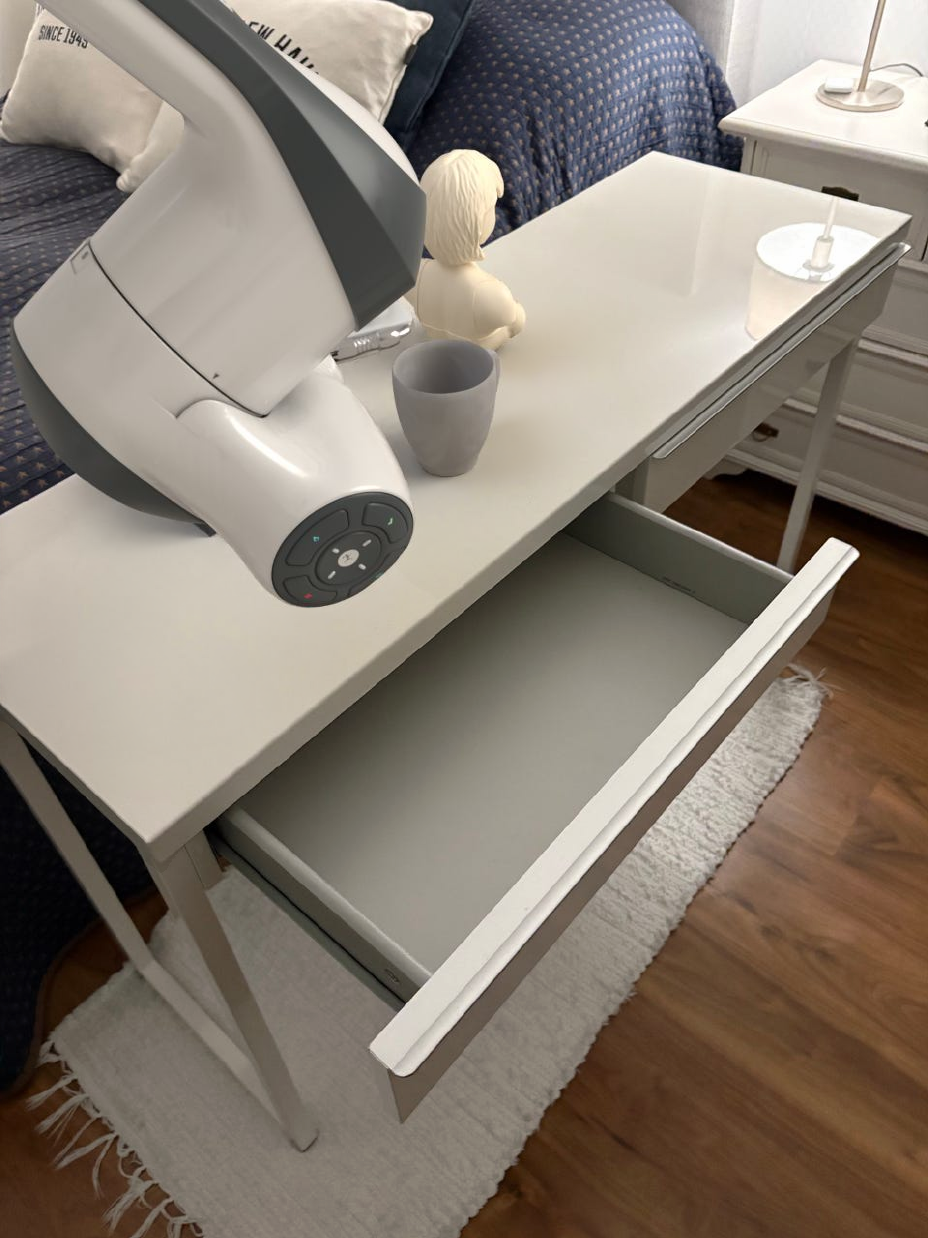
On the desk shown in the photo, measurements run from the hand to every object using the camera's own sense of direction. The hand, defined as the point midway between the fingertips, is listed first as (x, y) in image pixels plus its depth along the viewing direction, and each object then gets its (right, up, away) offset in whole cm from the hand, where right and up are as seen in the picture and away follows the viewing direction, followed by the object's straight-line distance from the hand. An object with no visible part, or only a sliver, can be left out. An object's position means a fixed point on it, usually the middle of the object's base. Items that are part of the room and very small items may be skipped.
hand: (190, 272), depth 61 cm
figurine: (+18, +6, +40) cm, 44 cm away
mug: (+17, -6, +28) cm, 33 cm away
